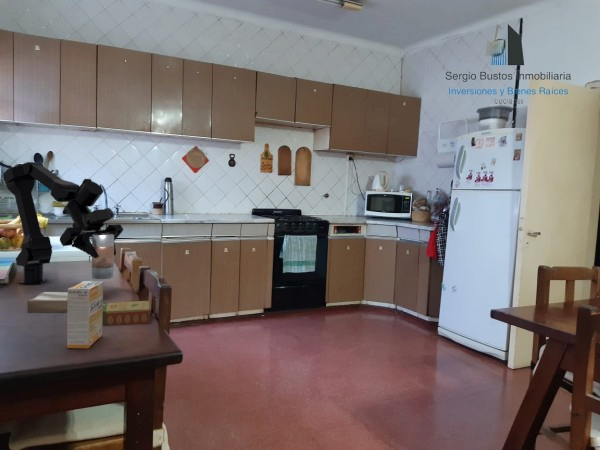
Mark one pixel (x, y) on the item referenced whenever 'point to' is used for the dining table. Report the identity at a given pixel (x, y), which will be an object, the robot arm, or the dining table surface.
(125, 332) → the dining table surface
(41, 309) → the board
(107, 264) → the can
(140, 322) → the carton
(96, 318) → the supplement box
